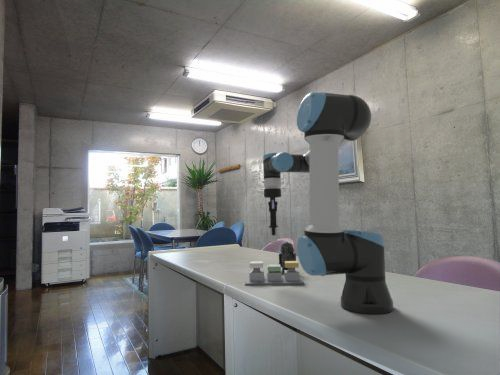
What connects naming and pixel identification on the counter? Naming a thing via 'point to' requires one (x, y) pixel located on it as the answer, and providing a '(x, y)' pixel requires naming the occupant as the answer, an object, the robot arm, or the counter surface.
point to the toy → (286, 255)
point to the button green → (274, 268)
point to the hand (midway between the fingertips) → (273, 242)
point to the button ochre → (291, 265)
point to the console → (274, 278)
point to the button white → (256, 266)
